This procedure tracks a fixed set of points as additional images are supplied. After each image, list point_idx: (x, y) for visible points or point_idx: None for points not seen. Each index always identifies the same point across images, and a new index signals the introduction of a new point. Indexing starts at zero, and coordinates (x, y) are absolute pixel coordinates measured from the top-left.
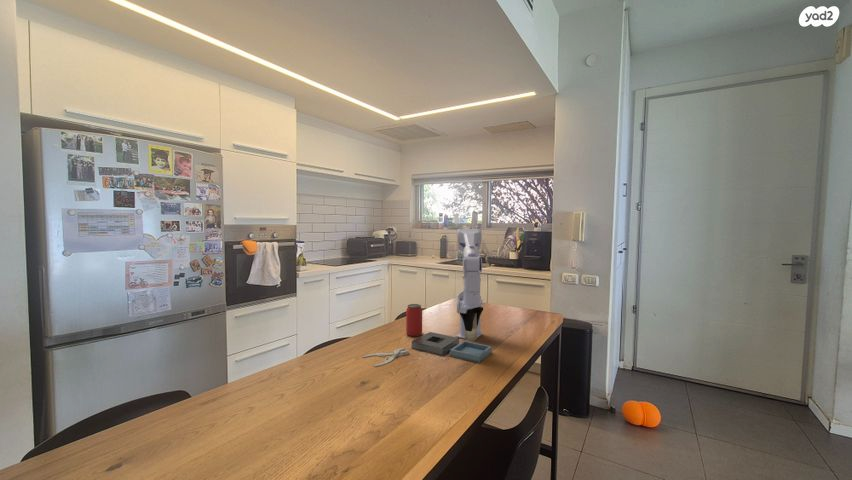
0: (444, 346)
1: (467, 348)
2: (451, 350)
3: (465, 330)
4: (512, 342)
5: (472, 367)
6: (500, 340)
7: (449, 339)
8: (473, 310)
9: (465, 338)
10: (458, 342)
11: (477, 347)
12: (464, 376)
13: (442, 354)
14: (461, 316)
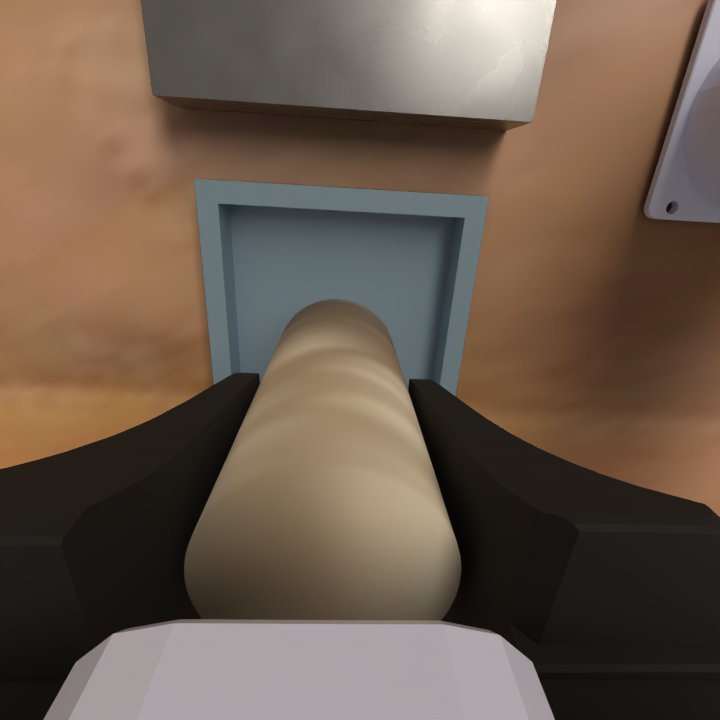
0: (213, 91)
1: (407, 259)
2: (197, 196)
3: (282, 347)
4: (674, 466)
5: (145, 397)
6: (698, 395)
7: (440, 35)
8: (483, 624)
9: (294, 316)
10: (502, 127)
11: (439, 331)
12: (2, 404)
13: (182, 107)
14: (43, 459)
